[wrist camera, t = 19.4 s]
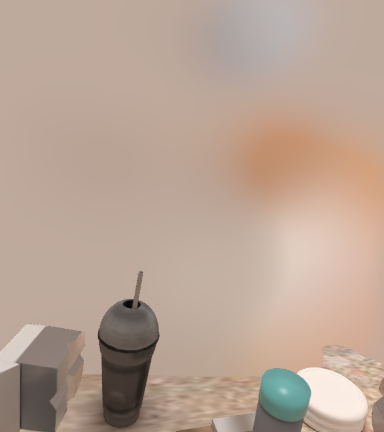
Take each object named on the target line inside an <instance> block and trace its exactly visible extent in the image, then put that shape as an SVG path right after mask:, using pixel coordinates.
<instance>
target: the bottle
mask: <svg viewBox="0 0 384 432" xmlns="http://www.w3.org/2000/svg"><path fill="white" fill-rule="evenodd" d="M310 397H311V389H310V386H309V385H308V383H307V382H306V381H305V380H304V379H303V378H302V377H300V376H299V375H297V374H296V373H294V372H291V371H289V370H286V369H279V368H274V369H270V370H267V371H266V372H265V373H264V374H263V377H262V381H261V386H260V391H259V401H258V405H257V410H256V415H255V420H254V424H253V429H252V432H301V428H302V424H303V420H304V417H305V415H306V413H307V409H308V405H309V401H310Z"/></svg>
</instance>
